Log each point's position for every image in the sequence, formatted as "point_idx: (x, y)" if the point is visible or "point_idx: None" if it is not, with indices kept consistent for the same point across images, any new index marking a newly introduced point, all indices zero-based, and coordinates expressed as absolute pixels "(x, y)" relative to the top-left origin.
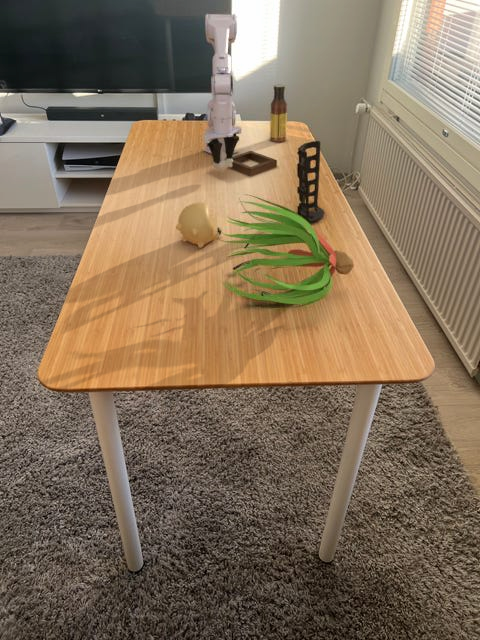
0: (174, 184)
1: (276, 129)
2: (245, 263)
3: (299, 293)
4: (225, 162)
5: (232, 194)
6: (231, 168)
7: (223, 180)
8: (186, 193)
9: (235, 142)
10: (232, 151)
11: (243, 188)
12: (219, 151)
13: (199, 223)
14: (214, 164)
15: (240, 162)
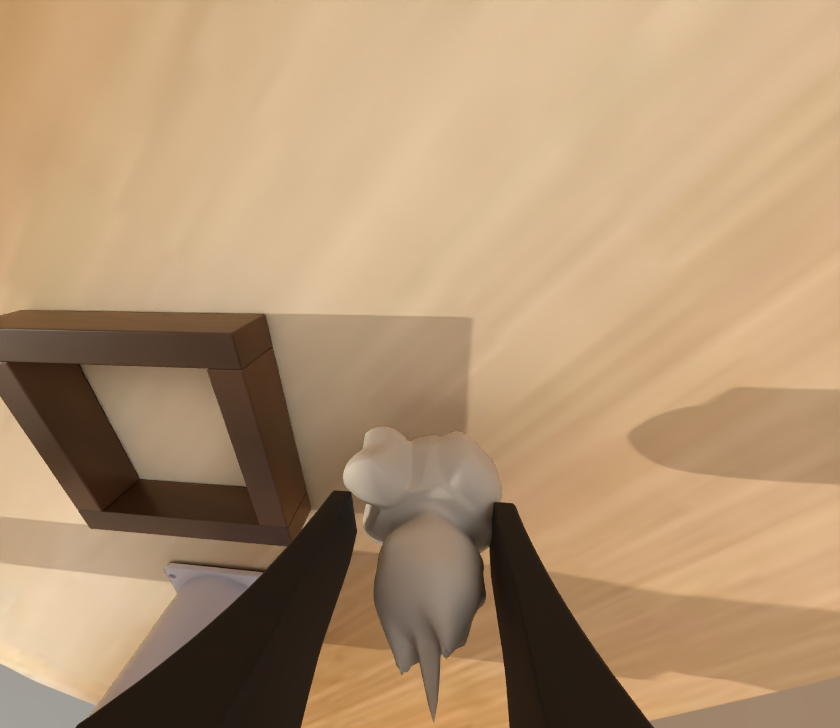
0: (712, 527)
1: None
2: None
3: None
4: (437, 478)
5: (642, 130)
6: (300, 469)
7: (460, 390)
8: (824, 404)
9: (191, 690)
10: (303, 556)
11: (462, 172)
12: (549, 642)
13: None
14: None
15: (210, 487)
